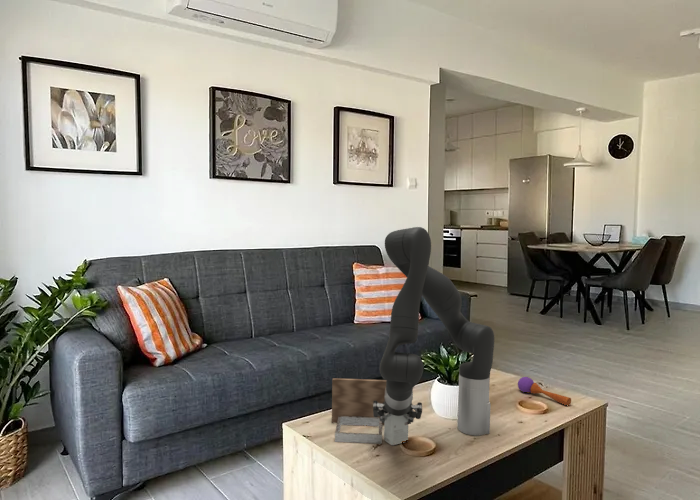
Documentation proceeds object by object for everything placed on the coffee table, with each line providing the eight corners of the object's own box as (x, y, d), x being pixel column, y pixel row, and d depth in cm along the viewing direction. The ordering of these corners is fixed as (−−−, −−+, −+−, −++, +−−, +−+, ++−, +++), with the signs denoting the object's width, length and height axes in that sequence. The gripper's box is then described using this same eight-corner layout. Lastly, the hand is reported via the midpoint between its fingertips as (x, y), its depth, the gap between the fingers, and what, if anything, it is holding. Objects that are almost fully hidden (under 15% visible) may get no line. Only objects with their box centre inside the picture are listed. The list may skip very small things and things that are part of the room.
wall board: (388, 419, 162) (389, 376, 161) (388, 424, 157) (389, 381, 156) (333, 417, 163) (333, 374, 162) (331, 422, 159) (332, 379, 158)
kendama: (564, 398, 173) (514, 378, 189) (563, 413, 175) (514, 392, 190) (573, 391, 177) (523, 372, 192) (573, 406, 178) (523, 386, 194)
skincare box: (392, 446, 143) (393, 405, 142) (382, 440, 147) (383, 400, 146) (409, 441, 146) (410, 400, 146) (399, 435, 150) (400, 396, 149)
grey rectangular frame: (381, 425, 157) (381, 417, 157) (381, 443, 145) (381, 435, 144) (338, 423, 158) (338, 415, 158) (334, 441, 145) (335, 433, 145)
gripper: (424, 384, 137) (420, 409, 150) (372, 382, 138) (372, 407, 151) (425, 410, 132) (421, 434, 145) (371, 408, 133) (371, 431, 146)
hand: (396, 420), depth 148 cm, fingers closed on skincare box, 7 cm apart
